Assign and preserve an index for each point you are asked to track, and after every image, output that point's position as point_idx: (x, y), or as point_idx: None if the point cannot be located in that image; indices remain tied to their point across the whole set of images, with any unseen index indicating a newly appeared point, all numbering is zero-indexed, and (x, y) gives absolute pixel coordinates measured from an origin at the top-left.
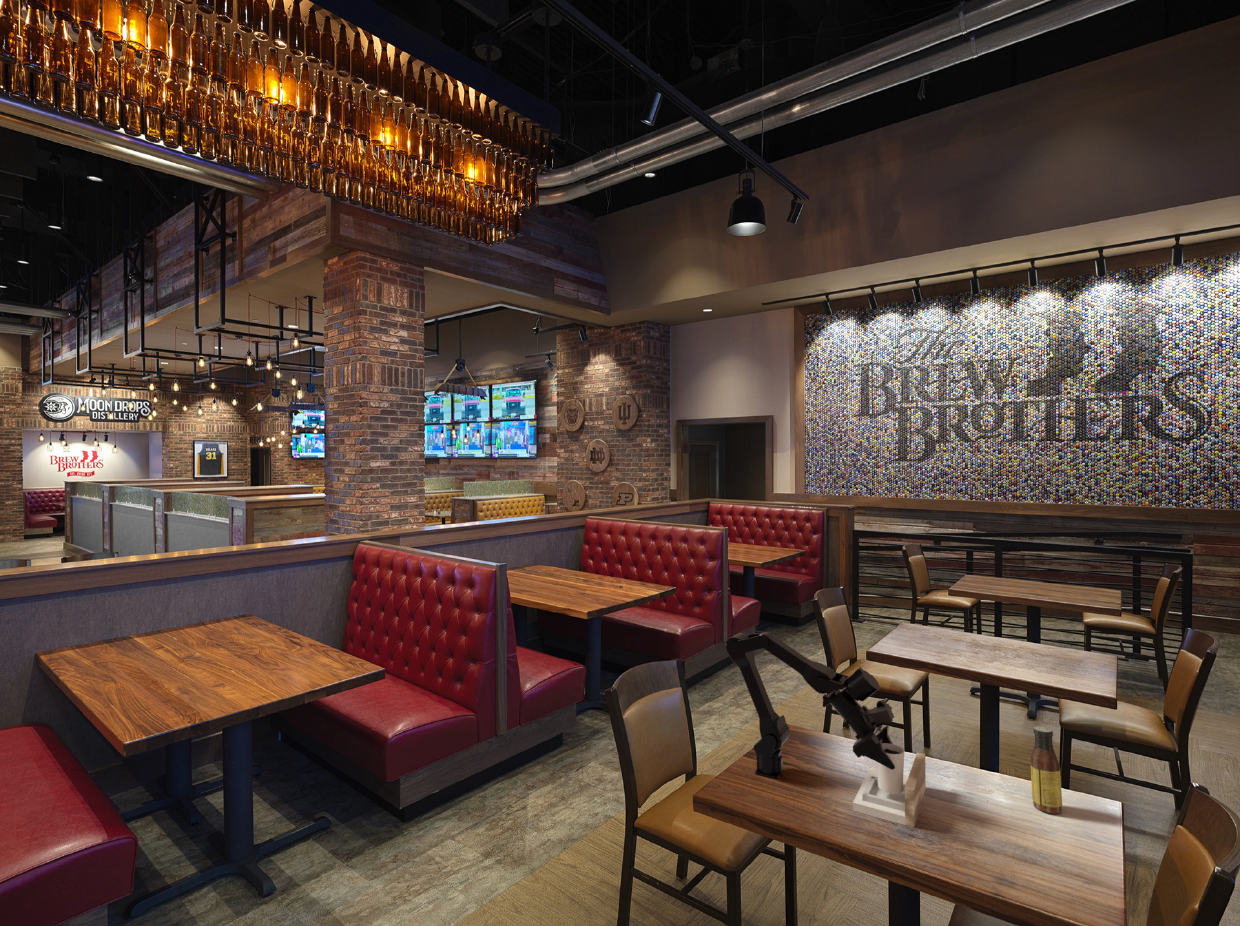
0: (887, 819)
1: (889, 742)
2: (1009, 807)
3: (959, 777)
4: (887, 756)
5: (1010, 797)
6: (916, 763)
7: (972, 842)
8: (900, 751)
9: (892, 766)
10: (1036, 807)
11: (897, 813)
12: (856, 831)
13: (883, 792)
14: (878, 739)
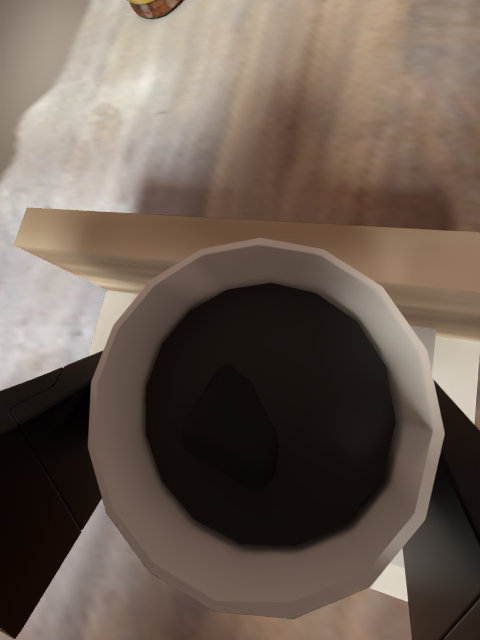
0: None
1: (75, 401)
2: (183, 63)
3: (45, 184)
4: (478, 454)
5: (127, 68)
6: (142, 241)
7: (470, 125)
8: (185, 295)
9: None
10: (170, 8)
11: (465, 376)
12: None
13: None
14: (21, 541)
